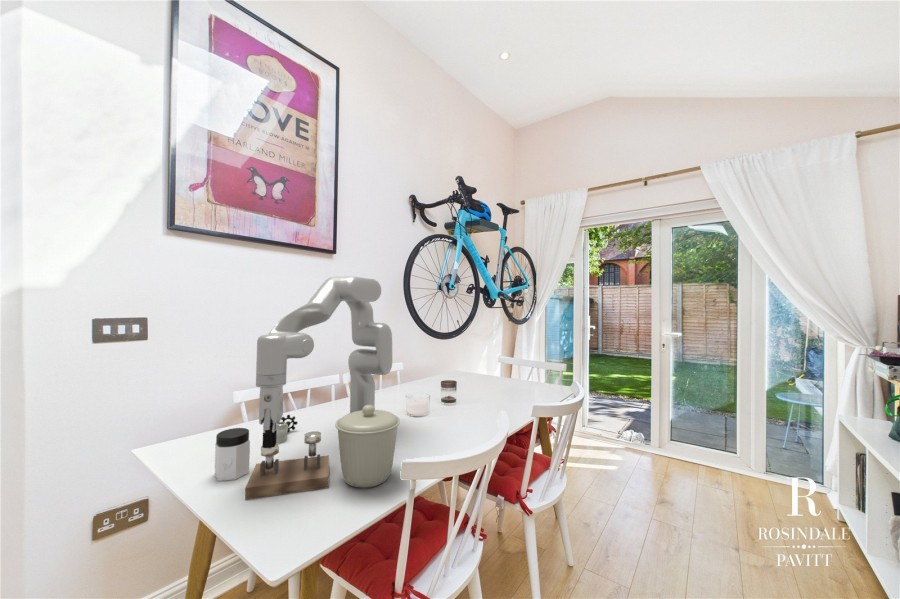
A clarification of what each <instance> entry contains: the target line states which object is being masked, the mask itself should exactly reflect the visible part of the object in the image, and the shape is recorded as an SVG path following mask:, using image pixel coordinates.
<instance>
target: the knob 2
mask: <svg viewBox="0 0 900 599" xmlns="http://www.w3.org/2000/svg"><path fill="white" fill-rule="evenodd" d="M303 439H304V444H306V445H308V457H309V458H310V457H317V456H316V455H317V444H318V443H320V442H321V441H322V432H321V431H319V430H318V431H316V430H315V431H309V432H306V433H305V434H304V438H303Z"/></svg>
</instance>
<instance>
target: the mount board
mask: <svg viewBox="0 0 900 599" xmlns="http://www.w3.org/2000/svg"><path fill="white" fill-rule="evenodd" d="M316 455H317V456H313V457H310V456H309V455H304V457H303V458H302V457H301V458H293V459H286V460H280V459H279V458H276V459H275V458H274V467H273V468H272V469H265V467H266V460H261V462H260V463H255V465H254V468H253V469H252V472H251V475H250V477H249V479H248V480H247V483H246V485H245V488H244V500H246V501H247V500H254V499H261V498H267V497H273V496H281V495H288V494H295V493H296V494H297V493H302V492H309V491H315V490H322V489H329V486H330V485H329V480H330V478H329V475H330V474H329V471H330V469H329V468H330V456H329V455H327V454H326V455H321V454H316Z"/></svg>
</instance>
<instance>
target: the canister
mask: <svg viewBox="0 0 900 599" xmlns="http://www.w3.org/2000/svg"><path fill="white" fill-rule="evenodd" d="M400 424H401V419H400V418H399V416H397V415H395V414H394V413H392V412H390V411H386V410H382V409H376V408H374V406H373V405H365V406H364V407H363V409H362V410H361V411H355V412H352V413H350V412H349V413H346V414H344V415H343V416H342V417H340V418H338V419H337V420H336V421H335V424H334V427H335V429H336V430H337V434H338V435H337V437H338V438H337V439H338V446H339V459H340V465H341V473H342V477H343V479H344V481H345V482H346V483H347V484H348V485H350V486H351V487H355V488H361V489H364V488H365V489H366V488H373V487H376V486H378V485H382V484H383V483H384V482H385V481H387V479H388V478H389V477H390V475H391V473H392V468H393V463H394V457H395V449H396V443H397V433H398V426H399V425H400Z"/></svg>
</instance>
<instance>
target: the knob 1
mask: <svg viewBox="0 0 900 599" xmlns="http://www.w3.org/2000/svg"><path fill="white" fill-rule="evenodd" d="M279 450H280V443H276V445H275V447H267V448H263V447H262V445H261V447H260V456H262V457H265V463H266V467H265V469H272V468H273V467H274V462H275V457H274V456H276V455H277V454H279V453H280V451H279Z"/></svg>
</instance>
